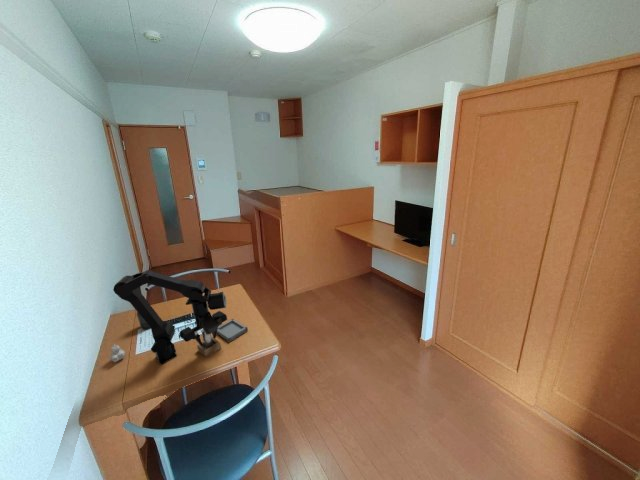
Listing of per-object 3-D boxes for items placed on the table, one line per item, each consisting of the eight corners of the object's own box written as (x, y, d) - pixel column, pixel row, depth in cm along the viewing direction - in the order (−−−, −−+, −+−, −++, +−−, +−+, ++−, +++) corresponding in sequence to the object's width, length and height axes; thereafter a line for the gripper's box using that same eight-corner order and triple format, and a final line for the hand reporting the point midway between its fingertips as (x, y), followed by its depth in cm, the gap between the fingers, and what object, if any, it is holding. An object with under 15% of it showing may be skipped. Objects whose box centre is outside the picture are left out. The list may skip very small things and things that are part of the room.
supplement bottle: (159, 321, 145) (153, 301, 141) (150, 330, 138) (144, 309, 134) (146, 321, 145) (140, 301, 141) (137, 329, 139) (131, 309, 135)
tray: (229, 342, 126) (228, 338, 125) (215, 332, 133) (214, 328, 133) (247, 330, 133) (247, 327, 132) (233, 322, 140) (232, 318, 140)
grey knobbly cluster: (128, 353, 123) (123, 338, 120) (123, 363, 117) (117, 347, 114) (114, 356, 121) (108, 341, 119) (108, 367, 115) (102, 351, 113)
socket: (206, 357, 117) (204, 351, 116) (198, 350, 122) (196, 344, 121) (221, 348, 122) (220, 342, 121) (212, 341, 127) (211, 336, 126)
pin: (208, 352, 120) (203, 333, 117) (204, 349, 122) (200, 330, 119) (215, 348, 122) (210, 329, 119) (211, 345, 124) (207, 326, 121)
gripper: (187, 329, 104) (196, 362, 109) (231, 306, 117) (237, 337, 122) (175, 319, 111) (183, 350, 116) (217, 298, 124) (223, 328, 129)
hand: (208, 341), depth 121 cm, fingers open, 6 cm apart
